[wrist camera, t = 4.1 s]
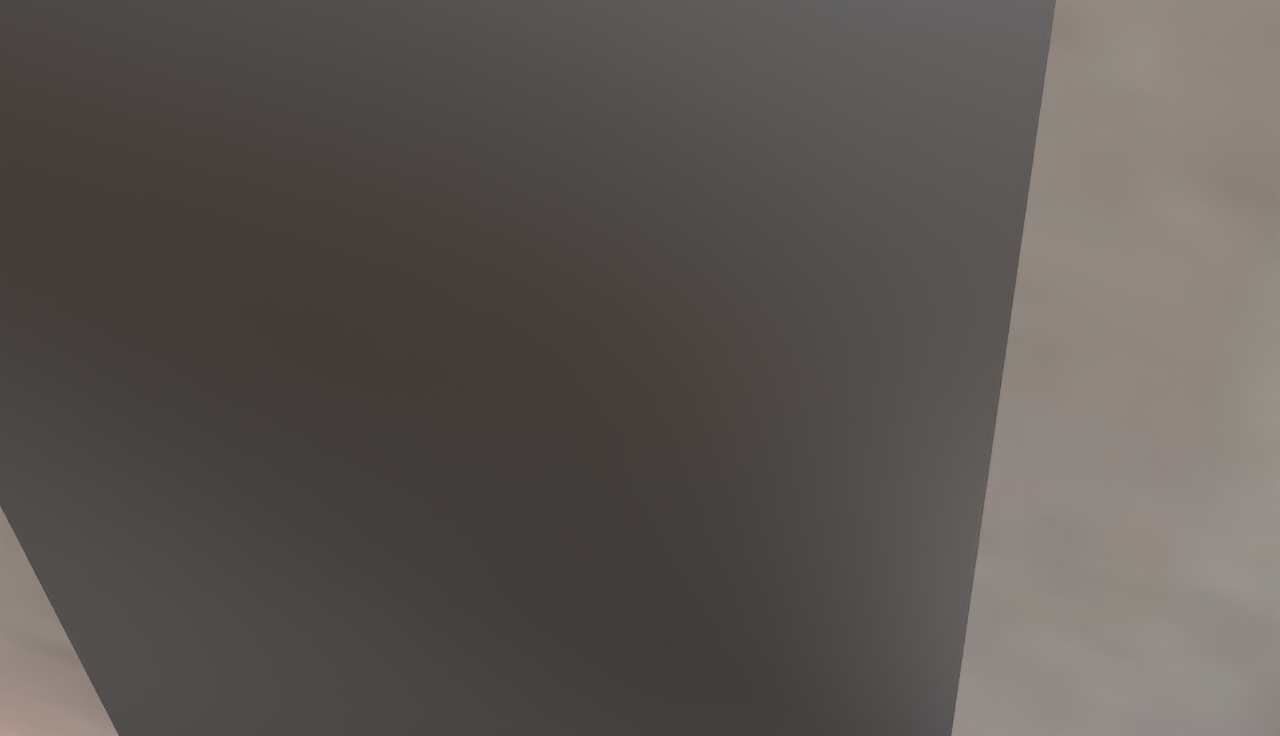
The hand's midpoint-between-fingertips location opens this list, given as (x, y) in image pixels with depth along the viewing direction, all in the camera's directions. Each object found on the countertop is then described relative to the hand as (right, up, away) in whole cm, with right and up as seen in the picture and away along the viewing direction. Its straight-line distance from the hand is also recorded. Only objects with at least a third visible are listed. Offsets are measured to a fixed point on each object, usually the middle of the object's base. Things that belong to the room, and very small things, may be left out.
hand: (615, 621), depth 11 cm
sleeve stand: (0, 0, +3) cm, 3 cm away
